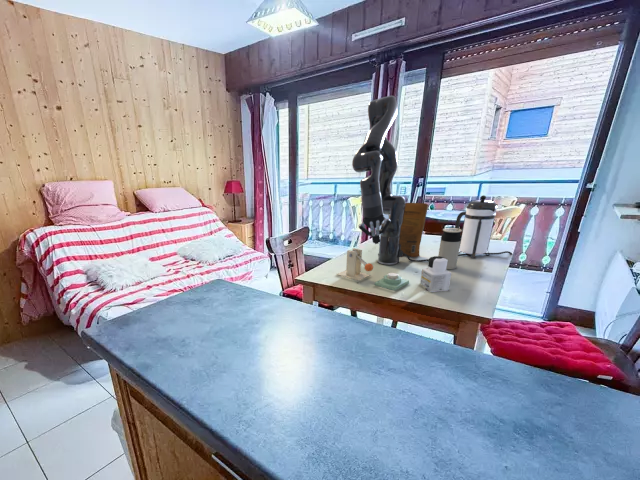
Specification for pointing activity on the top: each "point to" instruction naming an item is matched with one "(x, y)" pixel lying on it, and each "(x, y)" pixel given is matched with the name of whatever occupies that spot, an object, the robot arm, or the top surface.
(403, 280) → the button box
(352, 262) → the switch bracket
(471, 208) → the coffee press
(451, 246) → the travel mug
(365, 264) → the switch lever
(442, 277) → the container
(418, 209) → the pancake mix bag
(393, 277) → the button
